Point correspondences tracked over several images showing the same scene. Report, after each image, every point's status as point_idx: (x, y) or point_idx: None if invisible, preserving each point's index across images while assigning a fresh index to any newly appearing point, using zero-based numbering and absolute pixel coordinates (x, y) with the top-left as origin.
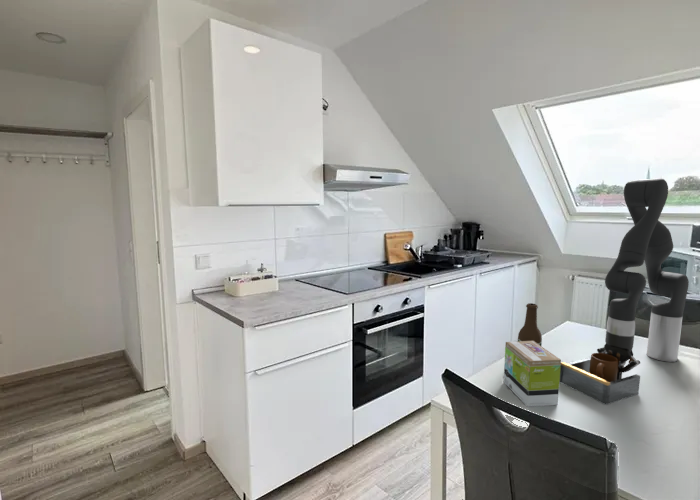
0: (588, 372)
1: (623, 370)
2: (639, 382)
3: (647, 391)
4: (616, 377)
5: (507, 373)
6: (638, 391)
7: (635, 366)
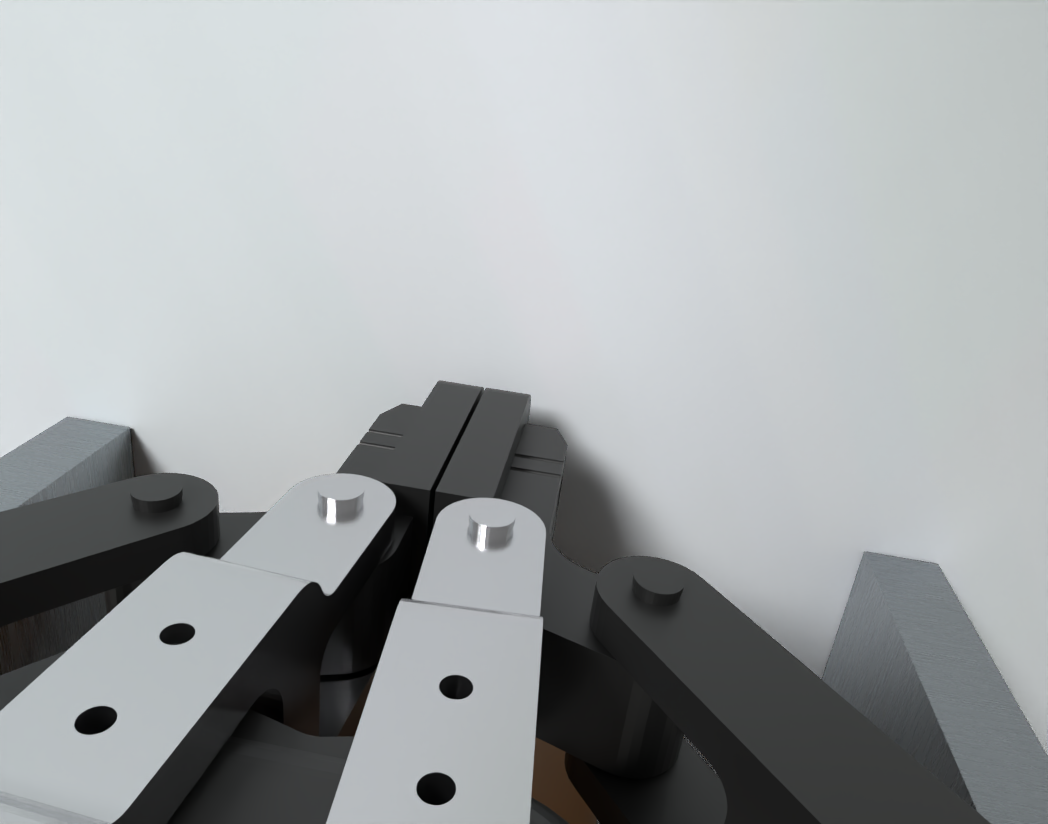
0: (99, 615)
1: (636, 778)
2: (1033, 736)
3: (1044, 306)
4: (591, 817)
5: None
6: (952, 594)
7: (963, 811)
